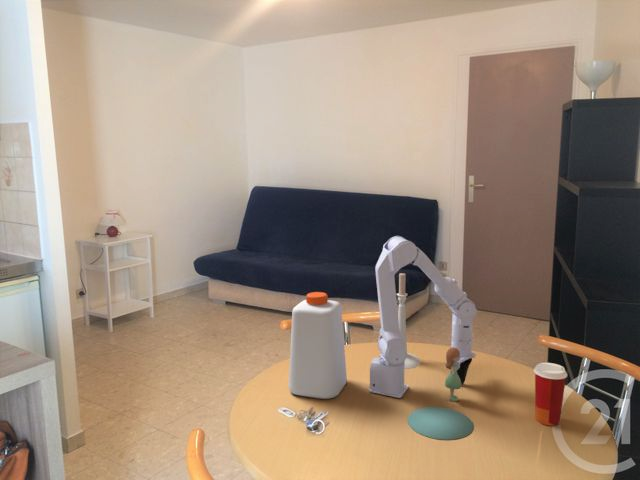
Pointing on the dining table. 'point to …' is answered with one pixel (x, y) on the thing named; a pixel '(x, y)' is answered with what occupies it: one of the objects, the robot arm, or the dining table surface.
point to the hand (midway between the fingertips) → (460, 382)
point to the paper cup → (549, 392)
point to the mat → (440, 423)
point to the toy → (452, 372)
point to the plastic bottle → (317, 348)
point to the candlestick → (411, 359)
